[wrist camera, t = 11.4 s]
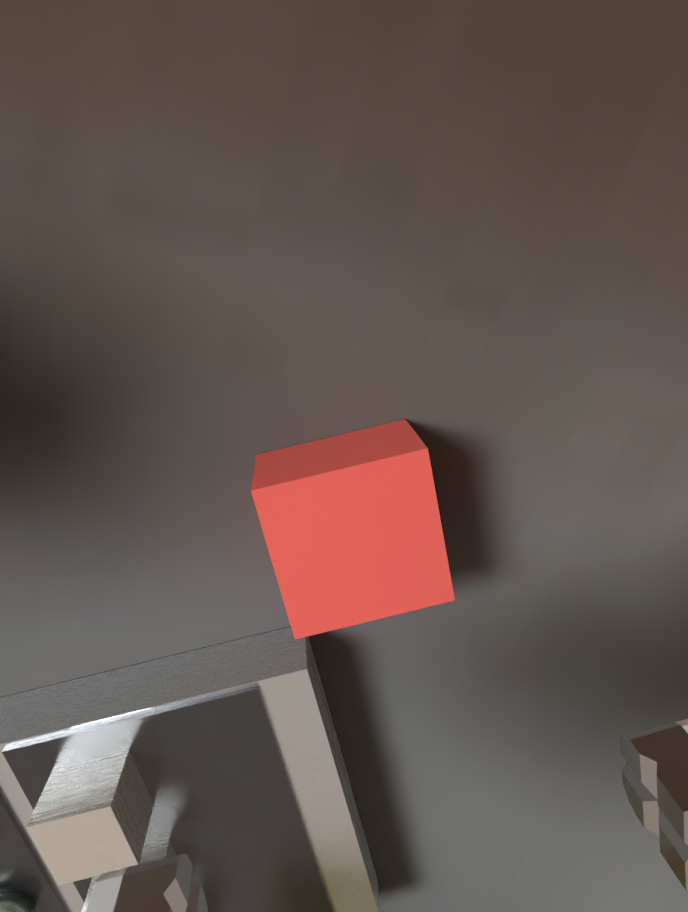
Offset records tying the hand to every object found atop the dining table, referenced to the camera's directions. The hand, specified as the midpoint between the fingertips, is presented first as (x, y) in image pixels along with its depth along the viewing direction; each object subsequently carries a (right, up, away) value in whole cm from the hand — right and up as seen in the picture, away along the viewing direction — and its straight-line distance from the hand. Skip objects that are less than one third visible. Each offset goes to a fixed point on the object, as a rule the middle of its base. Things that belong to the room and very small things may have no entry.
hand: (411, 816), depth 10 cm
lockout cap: (-1, +5, +13) cm, 14 cm away
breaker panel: (-10, -10, +17) cm, 22 cm away
